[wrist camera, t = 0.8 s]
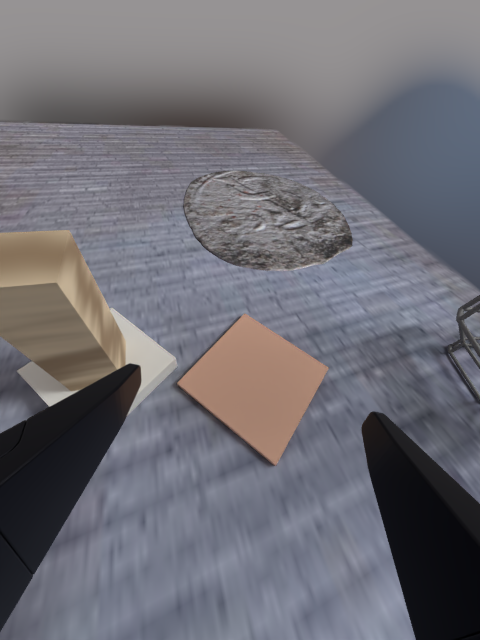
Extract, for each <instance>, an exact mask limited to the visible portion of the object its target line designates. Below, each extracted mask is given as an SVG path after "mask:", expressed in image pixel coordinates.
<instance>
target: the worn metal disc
mask: <svg viewBox="0 0 480 640" xmlns="http://www.w3.org/2000/svg"><path fill="white" fill-rule="evenodd" d="M184 212H185V216H186V218H187V221H188V223H189V225H190V227H191V228H192V231H193V233H194V235H195V238H196V239H197V240H198V241H199V242H200V243H201V244H202V246H203V247H204V248H206V249H207V250H208V251H209V252H211V253H212V254H214V255H215V256H217V257H218V258H220V259H222V260H224V261H226V262H228V263H231V264H233V265H236V266H241V267H246V268H251V269H257V270H265V271H290V270H296V269H301V268H305V267H309V266H313V265H318V264H324V263H326V262H327V261H329V260H330V259H332V258H333V257H335V256H336V255H337V254H339V253H341V252H343V251H345V250H347V249H349V248H350V247H351V246H352V240H353V239H352V234H351V231H350V228H349V225H348V223H347V221H346V219H345V217H344V215H343V214H342V213H341V211H339V210H338V209H337V208H336V206H335V205H334V204H333V203H331V202H330V201H329V200H328V199H326V198H325V197H323V196H321V195H320V194H319V193H318V192H316V191H314V190H312V189H310V188H308V187H306V186H304V185H302V184H299V183H297V182H295V181H292V180H289V179H286V178H282V177H278V176H274V175H268V174H265V173H252V172H247V171H221V172H216V173H211V174H208V175H205V176H202V177H199V178H197V179H196V180H194V181H192V182H191V184H190V185H189V187H188V189H187V191H186V195H185V198H184Z"/></svg>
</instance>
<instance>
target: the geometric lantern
mask: <svg viewBox="0 0 480 640" xmlns="http://www.w3.org/2000/svg"><path fill="white" fill-rule="evenodd" d="M478 301H480V295H479V296H477V297H476V298H474V299H473V300H471V301H469V302H468V303H466V304H465V305H463V306H461V307H460V308H459V309H458V312H457V317H456V321H457V322H458V325H459V332H460V340H458V341H456V342H454V343H453V344H450V345H448V353H449V354H450V356H451V357H452V359H453V360H454V362H455V364H456V365H457V367H458V368H459V370H460V371H461V373H462V375H463V376H464V378H465V379H466V381H467V382H468V384H469V386H470V387H471V389H472V390H473V392H474V393H475V395H476V396H477V398H478V400H479V401H480V394H479V393H478V391H477V390H476V388H475V387H474V385H473V384H472V382H471V380H470V379H469V377H468V376H467V374H466V373H465V371H464V370H463V368H462V367H461V365H460V364H459V362H458V360H457V359H456V357H455V356H454V354H453V353H452V352H454V351H456V350H457V349H459V348H461V347H465V349H466V350H467V352H468V353H469V354H470V356H471V357H472V359H473V360H474V362H475V363H476V365H477V366H478V367H479V369H480V362H479V361H478V359H477V358H476V357H475V355H474V354H473V352H472V351H471V350H470V348H469V347H470V346H473V348H474V349H475V351H476V353H477V354H478V356H479V357H480V344H478V343H477V342H476V340H480V337H473V335H472V334H471V332H470V331H469V329H468V328H467V326H466V325H465V323H464V319H466V318H467V317H469V316H471V315H472V314H474V313H475V312H480V304H478V305H477V306H475V307H474V308H471V307H470V306H472V305H473V304H475V303H477V302H478ZM463 311H468V312H466V313H465V314H464V312H463ZM465 335H466V337H465ZM465 340H469V341H470V343H471V344H466V342H465ZM459 343H461V344H459ZM452 347H454V348H453V349H452Z"/></svg>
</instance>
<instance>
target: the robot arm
mask: <svg viewBox="0 0 480 640" xmlns="http://www.w3.org/2000/svg"><path fill="white" fill-rule="evenodd" d="M140 386H141V367H140V365H137V364H132V363H129V364H127V365H125V366H123V367H121V368H119V369H118V370H116V371H114V372H112V373H110V374H108V375H107V376H105V377H103V378H101V379H99V380H98V381H96V382H94V383H92V384H90V385H88V386H87V387H85V388H83V389H81V390H79V391H77V392H76V393H74V394H72V395H70V396H68V397H66V398H65V399H63V400H61V401H59V402H57V403H56V404H54V405H52V406H50V407H48V408H46V409H45V410H43V411H41V412H39V413H37V414H35V415H34V416H32V417H30V418H28V419H27V421H26V420H25V421H22V422H21V423H19V424H17V425H15V426H13V427H12V428H10V429H8V430H6V431H4V432H2V433H0V631H1V630H2V628H3V626H4V625H5V623H6V621H7V620H8V618H9V616H10V614H11V613H12V611H13V609H14V608H15V606H16V604H17V603H18V601H19V599H20V598H21V596H22V594H23V593H24V591H25V589H26V587H27V586H28V584H29V582H30V581H31V579H32V577H33V574H34V573H35V572H36V570H37V569H38V567H39V565H40V563H41V562H42V560H43V558H44V557H45V555H46V553H47V552H48V550H49V548H50V547H51V545H52V543H53V542H54V540H55V538H56V536H57V535H58V533H59V531H60V530H61V528H62V526H63V525H64V523H65V521H66V520H67V518H68V516H69V515H70V513H71V511H72V509H73V508H74V506H75V504H76V503H77V501H78V499H79V498H80V496H81V494H82V493H83V491H84V489H85V487H86V486H87V484H88V482H89V481H90V479H91V477H92V476H93V474H94V472H95V471H96V469H97V467H98V466H99V464H100V462H101V460H102V459H103V457H104V455H105V454H106V452H107V450H108V449H109V447H110V445H111V444H112V442H113V440H114V438H115V437H116V435H117V433H118V432H119V430H120V428H121V426H122V425H123V423H124V421H125V419H126V417H127V414H128V412H129V410H130V408H131V406H132V403H133V401H134V399H135V397H136V395H137V392H138V390H139V388H140ZM362 436H363V441H364V447H365V453H366V458H367V464H368V469H369V473H370V477H371V481H372V485H373V488H374V492H375V495H376V499H377V503H378V506H379V510H380V513H381V517H382V520H383V524H384V528H385V531H386V535H387V538H388V542H389V545H390V549H391V553H392V556H393V560H394V563H395V567H396V570H397V574H398V578H399V581H400V585H401V588H402V592H403V595H404V599H405V603H406V606H407V610H408V613H409V617H410V620H411V624H412V628H413V631H414V635H415V638H416V640H480V504H479V503H478V502H477V501H476V500H475V499H474V498H473V497H472V496H471V495H470V494H469V493H468V492H467V491H466V490H465V489H463V488H462V487H461V486H460V485H459V484H458V483H457V482H456V481H455V480H454V479H453V478H452V477H451V476H450V475H449V474H448V473H446V472H445V471H444V470H443V469H442V468H441V467H440V466H439V465H438V464H437V463H436V462H435V461H434V460H433V459H432V458H430V457H429V456H428V455H427V454H426V453H425V452H424V451H423V450H422V449H421V448H420V447H419V446H418V445H417V444H416V443H414V442H413V441H412V440H411V439H410V438H409V437H408V436H407V435H406V434H405V433H404V432H403V431H402V430H401V429H400V428H399V427H397V426H396V425H395V424H394V423H393V422H392V421H391V420H390V419H389V418H388V417H387V416H386V415H385V414H383V413H379V412H371V413H370V414H369V415H368V417H367V418H366V420H365V421H364V423H363V425H362Z"/></svg>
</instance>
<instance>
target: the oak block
mask: <svg viewBox="0 0 480 640" xmlns="http://www.w3.org/2000/svg"><path fill="white" fill-rule="evenodd" d="M0 336H1V337H2V338H3V339H5V340H6V341H7V342H8V343H10V344H11V345H12V346H14V347H15V348H16V349H17V350H19V351H20V352H21V353H23V354H24V355H25V356H26V357H28V358H29V359H30V360H32V361H33V362H34V363H35V364H37V365H38V366H39V367H41V368H42V369H43V370H44V371H46V372H47V373H48V374H50V375H51V376H52V377H53V378H55V379H56V380H57V381H59V382H60V383H61V384H62V385H64V386H65V387H66V388H68V389H69V390H70V391H76V390H81V389H83V388H85V387H87V386H88V385H90V384H92V383H94V382H96V381H98V380H99V379H101V378H103V377H105V376H107V375H108V374H110V373H112V372H114V371H116V370H118V369H119V368H121V367H123V366H125V365H126V340H125V338H124V336H123V334H122V333H121V331H120V329H119V327H118V325H117V323H116V321H115V319H114V317H113V315H112V313H111V311H110V309H109V307H108V305H107V303H106V301H105V299H104V297H103V295H102V293H101V292H100V290H99V288H98V286H97V284H96V282H95V280H94V278H93V276H92V274H91V272H90V270H89V268H88V266H87V264H86V262H85V260H84V258H83V256H82V254H81V252H80V251H79V249H78V247H77V245H76V243H75V241H74V239H73V237H72V235H71V233H70V231H69V230H60V231H36V232H12V233H0Z"/></svg>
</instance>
